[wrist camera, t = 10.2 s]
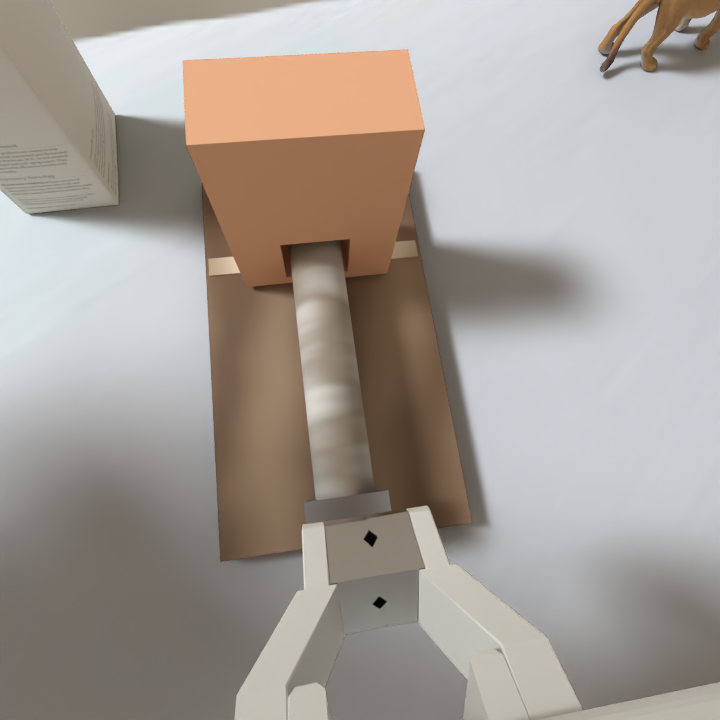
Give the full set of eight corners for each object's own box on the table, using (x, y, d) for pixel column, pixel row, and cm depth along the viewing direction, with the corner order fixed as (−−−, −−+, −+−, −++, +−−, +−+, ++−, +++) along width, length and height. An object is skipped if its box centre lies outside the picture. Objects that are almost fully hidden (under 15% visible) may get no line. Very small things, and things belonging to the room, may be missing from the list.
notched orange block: (246, 287, 28) (185, 145, 16) (242, 231, 29) (182, 60, 18) (387, 273, 29) (424, 129, 17) (378, 219, 30) (407, 49, 18)
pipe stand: (226, 557, 25) (196, 578, 20) (206, 183, 32) (179, 117, 26) (464, 520, 27) (501, 530, 21) (398, 169, 33) (412, 103, 28)
